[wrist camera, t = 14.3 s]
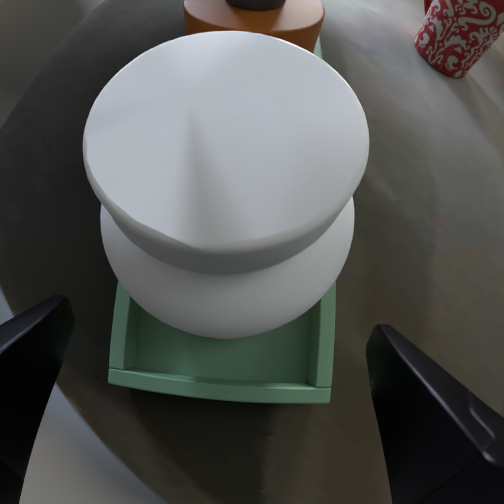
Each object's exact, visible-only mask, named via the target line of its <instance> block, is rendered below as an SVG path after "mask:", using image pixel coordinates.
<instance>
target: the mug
mask: <svg viewBox="0 0 504 504" xmlns="http://www.w3.org/2000/svg"><path fill="white" fill-rule="evenodd" d="M424 8H425V19H424V21H423V23H422V25H421V27H420V29H419V31H418V33H417V35H416V37H415V40H414V44H415V47H416V49H417V50H418V52H419V53H420V54H421V55H422V56H423V58H424V59H425V60H427V61H428V62H429V63H430V64H431V65H433V66H434V67H435V68H437V69H438V70H439V71H441V72H443V73H445V74H446V75H449V76H451V77H454V78H462V77H464V76H465V75H466V74H467V72H468V71H469V70H470V69H471V68H472V66H473V65H474V64H475V63H476V62H477V61H478V60H479V59H480V57H481V56H482V55H483V54H484V53H485V52H486V51H487V50H488V49H489V48H490V46H491V45H492V44H493V43H494V41H495V40H496V39H497V38H498V37H499V36H500V34H501V33H502V32H503V31H504V0H424Z"/></svg>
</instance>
